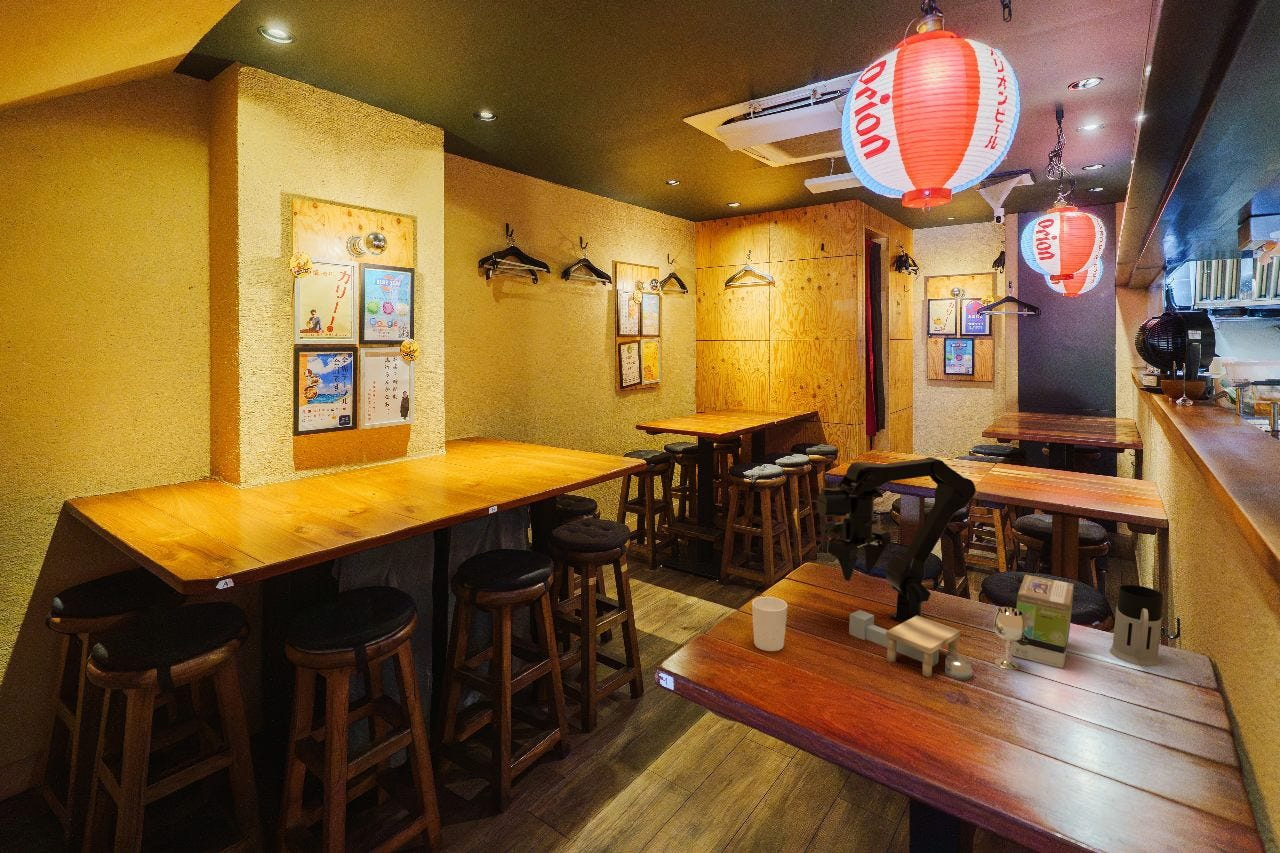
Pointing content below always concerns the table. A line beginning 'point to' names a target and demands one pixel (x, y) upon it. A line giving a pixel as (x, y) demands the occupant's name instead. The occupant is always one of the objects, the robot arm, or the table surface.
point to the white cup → (769, 623)
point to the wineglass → (1008, 631)
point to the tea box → (1044, 620)
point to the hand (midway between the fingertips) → (858, 576)
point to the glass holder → (1137, 625)
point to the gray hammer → (881, 635)
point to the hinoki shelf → (922, 639)
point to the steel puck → (958, 667)
